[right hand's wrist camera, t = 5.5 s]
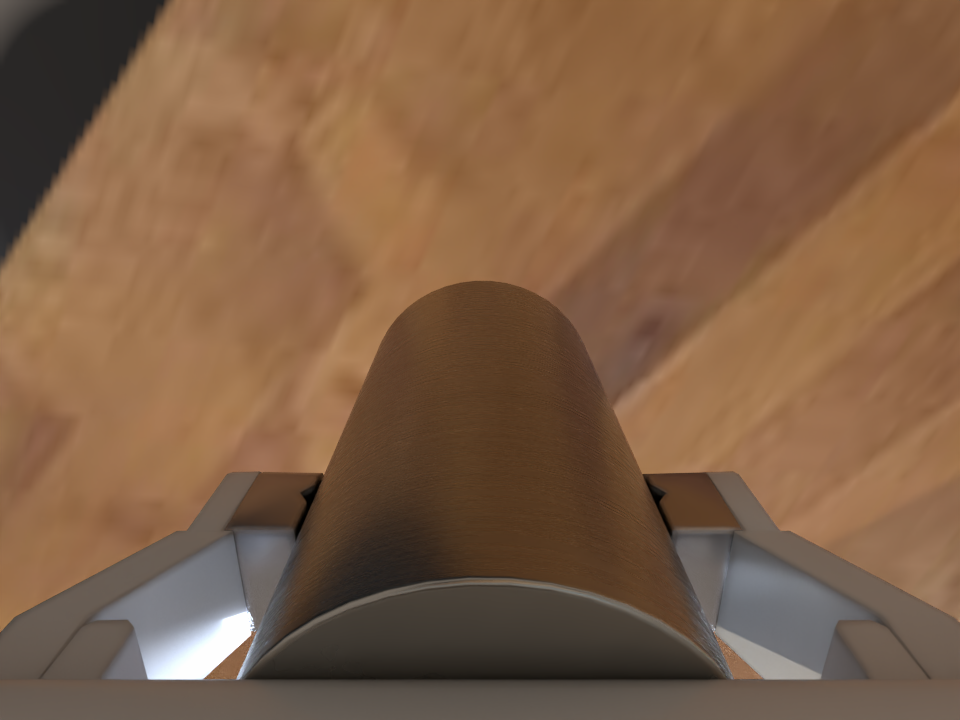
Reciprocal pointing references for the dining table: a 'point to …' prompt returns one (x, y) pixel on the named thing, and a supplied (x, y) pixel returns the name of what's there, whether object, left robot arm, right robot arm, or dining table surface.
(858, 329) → the dining table surface
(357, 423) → the canister
